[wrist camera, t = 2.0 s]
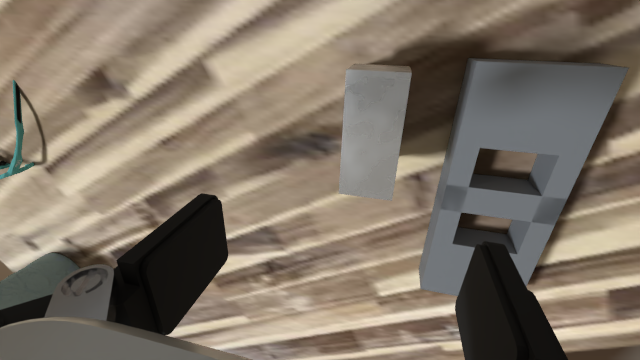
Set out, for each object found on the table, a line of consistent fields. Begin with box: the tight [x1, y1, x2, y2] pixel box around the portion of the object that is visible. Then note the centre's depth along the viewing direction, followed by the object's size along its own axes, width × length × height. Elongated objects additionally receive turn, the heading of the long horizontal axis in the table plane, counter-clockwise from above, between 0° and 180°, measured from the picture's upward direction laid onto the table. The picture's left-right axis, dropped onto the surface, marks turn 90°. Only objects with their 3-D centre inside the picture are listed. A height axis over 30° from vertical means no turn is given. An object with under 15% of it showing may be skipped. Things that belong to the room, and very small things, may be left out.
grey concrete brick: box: [339, 64, 412, 201], centre depth 23 cm, size 9×4×8 cm, turn 179°
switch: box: [419, 58, 629, 296], centre depth 26 cm, size 22×9×3 cm, turn 179°
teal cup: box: [0, 253, 80, 310], centre depth 46 cm, size 10×10×12 cm
